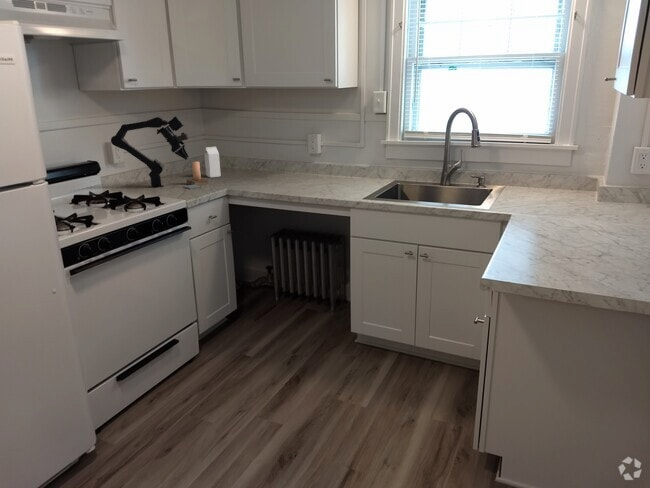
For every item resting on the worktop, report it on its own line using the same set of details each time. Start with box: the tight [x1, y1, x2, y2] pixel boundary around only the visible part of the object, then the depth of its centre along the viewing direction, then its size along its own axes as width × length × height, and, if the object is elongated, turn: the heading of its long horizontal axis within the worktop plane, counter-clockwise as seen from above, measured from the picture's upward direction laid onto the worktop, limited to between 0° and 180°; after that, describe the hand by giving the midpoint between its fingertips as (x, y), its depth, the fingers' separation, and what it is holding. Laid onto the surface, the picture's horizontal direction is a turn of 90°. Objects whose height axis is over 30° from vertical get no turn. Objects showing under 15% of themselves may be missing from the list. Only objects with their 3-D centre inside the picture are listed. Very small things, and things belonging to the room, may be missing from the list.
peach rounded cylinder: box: [191, 161, 202, 181], centre depth 298 cm, size 4×4×13 cm
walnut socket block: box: [186, 177, 209, 186], centre depth 300 cm, size 9×9×2 cm
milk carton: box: [203, 146, 222, 178], centre depth 321 cm, size 7×7×19 cm
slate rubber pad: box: [183, 184, 202, 190], centre depth 289 cm, size 7×7×1 cm
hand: (187, 158), depth 292 cm, fingers open, 9 cm apart
